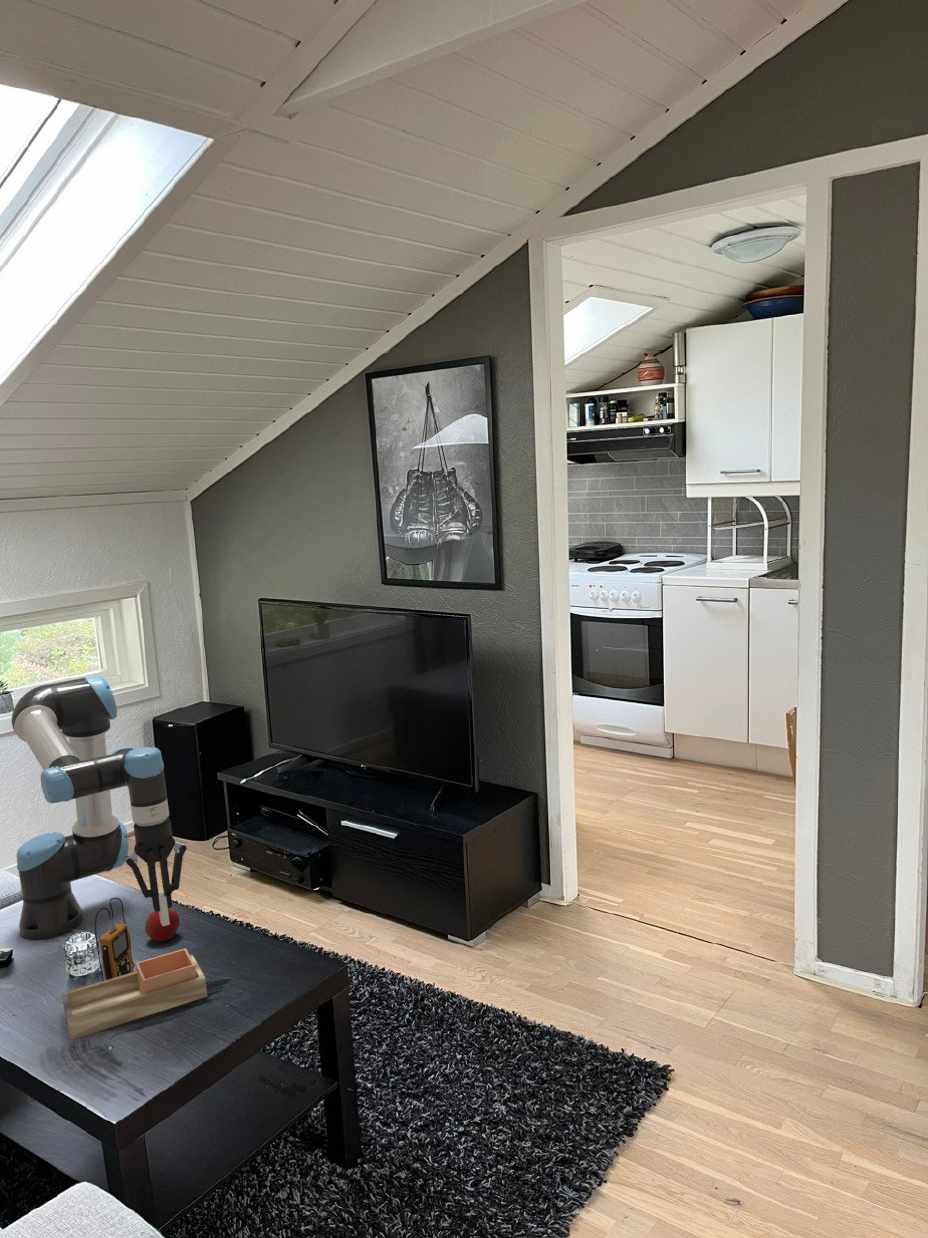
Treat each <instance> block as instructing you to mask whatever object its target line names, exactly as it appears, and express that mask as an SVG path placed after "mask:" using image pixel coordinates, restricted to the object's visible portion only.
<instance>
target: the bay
mask: <svg viewBox="0 0 928 1238" xmlns="http://www.w3.org/2000/svg"><path fill="white" fill-rule="evenodd" d="M189 955H190V957H191V958H192V960H193V962H194V964H195V968H196V976H197V978H194V979H191V980H188V981H184V982H181V983H178V984H175V985H171V986H168V987H165V988H162V989H159V990H155V991H152V992H149V993H146V994H141V992H140V989H139V984H138V977H137V970H136V971H134V972H132V973H129V974H126V975H122V976H119V977H115V978H112V979H109V980H105V979H104V981H103V980H102V981H98V982H96V983H93V984H90V985H89V984H88V985H86V986H82V987H78V988H75V989H72V990H69V991H65V992H63V993H61V999H62V1005H63V1013H64V1016H65V1021H66V1025H67V1029H68V1033H69V1037H70V1038H69V1039H70V1041H72V1040H75V1039H79V1038H82V1037H85V1036H88V1035H92V1034H94V1033H98V1032H101V1031H103V1030H107V1029H110V1028H113V1027H116V1026H120V1025H122V1024H126V1023H128V1022H129V1023H130V1022H132V1021H136V1020H139V1019H142V1018H145V1017H148V1016H150V1015H151V1016H152V1015H154V1014H156V1013H161V1012H164V1011H166V1010H170V1009H172V1008H176V1007H179V1006H182V1005H185V1004H188V1003H192V1002H194V1001H197V1000H198V1001H199V1000H201V999H203V998H207V997H208V991H207V990H208V989H207V982H206V976H205V974H204V972H203V971H202V969H201V967H200V965H199V964H198V962H197V960H196V958H195V957H194V955H193V954H189Z"/></svg>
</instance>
